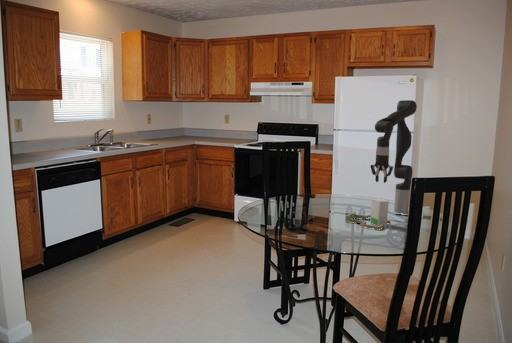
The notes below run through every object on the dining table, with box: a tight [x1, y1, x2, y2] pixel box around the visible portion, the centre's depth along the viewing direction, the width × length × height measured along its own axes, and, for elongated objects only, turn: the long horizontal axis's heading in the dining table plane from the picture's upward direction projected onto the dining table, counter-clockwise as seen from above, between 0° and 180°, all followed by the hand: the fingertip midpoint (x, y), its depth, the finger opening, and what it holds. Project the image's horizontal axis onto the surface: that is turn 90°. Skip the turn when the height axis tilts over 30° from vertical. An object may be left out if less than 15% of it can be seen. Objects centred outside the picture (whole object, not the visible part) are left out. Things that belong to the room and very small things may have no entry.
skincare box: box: [369, 197, 389, 227], centre depth 246 cm, size 8×7×16 cm
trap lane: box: [345, 211, 391, 231], centre depth 251 cm, size 24×24×4 cm
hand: (380, 182), depth 250 cm, fingers open, 4 cm apart
